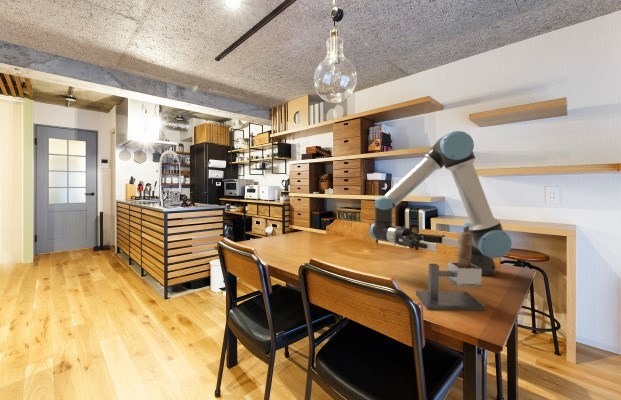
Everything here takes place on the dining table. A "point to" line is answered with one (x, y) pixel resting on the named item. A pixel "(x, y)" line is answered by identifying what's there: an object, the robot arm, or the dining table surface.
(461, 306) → the cup bracket
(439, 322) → the dining table surface
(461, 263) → the walnut rail
